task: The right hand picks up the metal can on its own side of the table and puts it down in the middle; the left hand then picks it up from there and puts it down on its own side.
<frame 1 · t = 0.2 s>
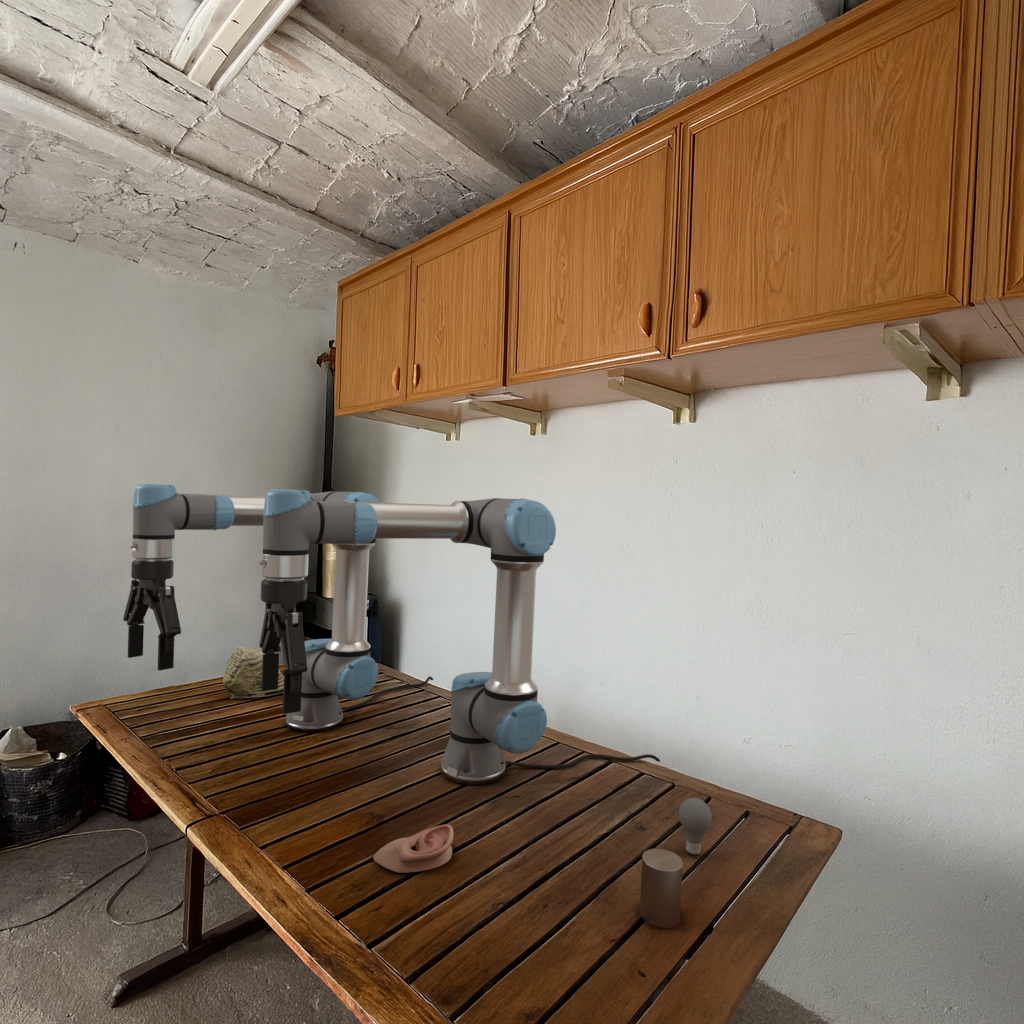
left hand: (149, 662, 130), 28 cm above the table, tool pointing down, fingers open, 13 cm apart
right hand: (280, 700, 110), 28 cm above the table, tool pointing down, fingers open, 13 cm apart
fossil: (254, 694, 198), on the table
can: (659, 915, 100), on the table
light bulb: (693, 853, 118), on the table
anatomical model: (413, 856, 113), on the table
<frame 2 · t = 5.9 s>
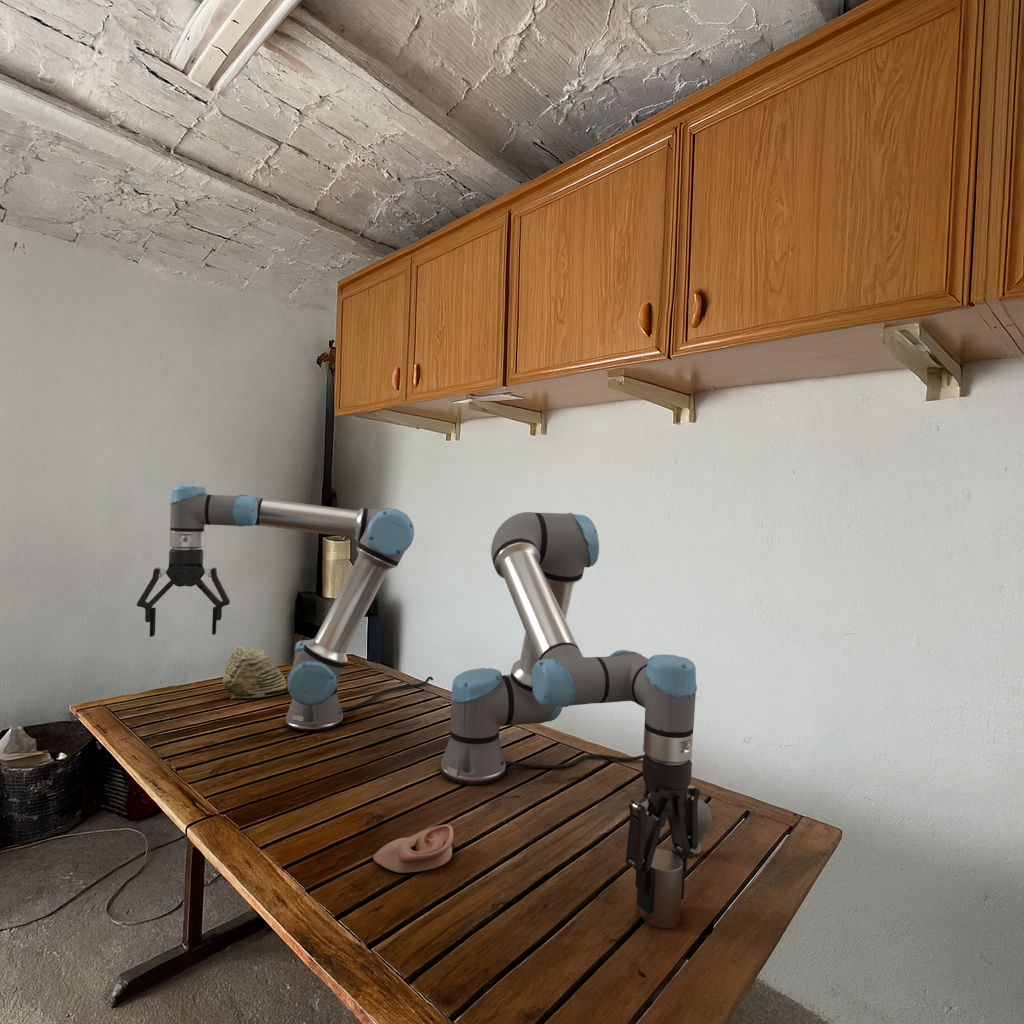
left hand: (183, 634, 156), 28 cm above the table, tool pointing down, fingers open, 13 cm apart
right hand: (660, 901, 100), 2 cm above the table, tool pointing down, fingers closed on can, 6 cm apart
can: (659, 915, 100), on the table, touching right hand
everything else where it was.
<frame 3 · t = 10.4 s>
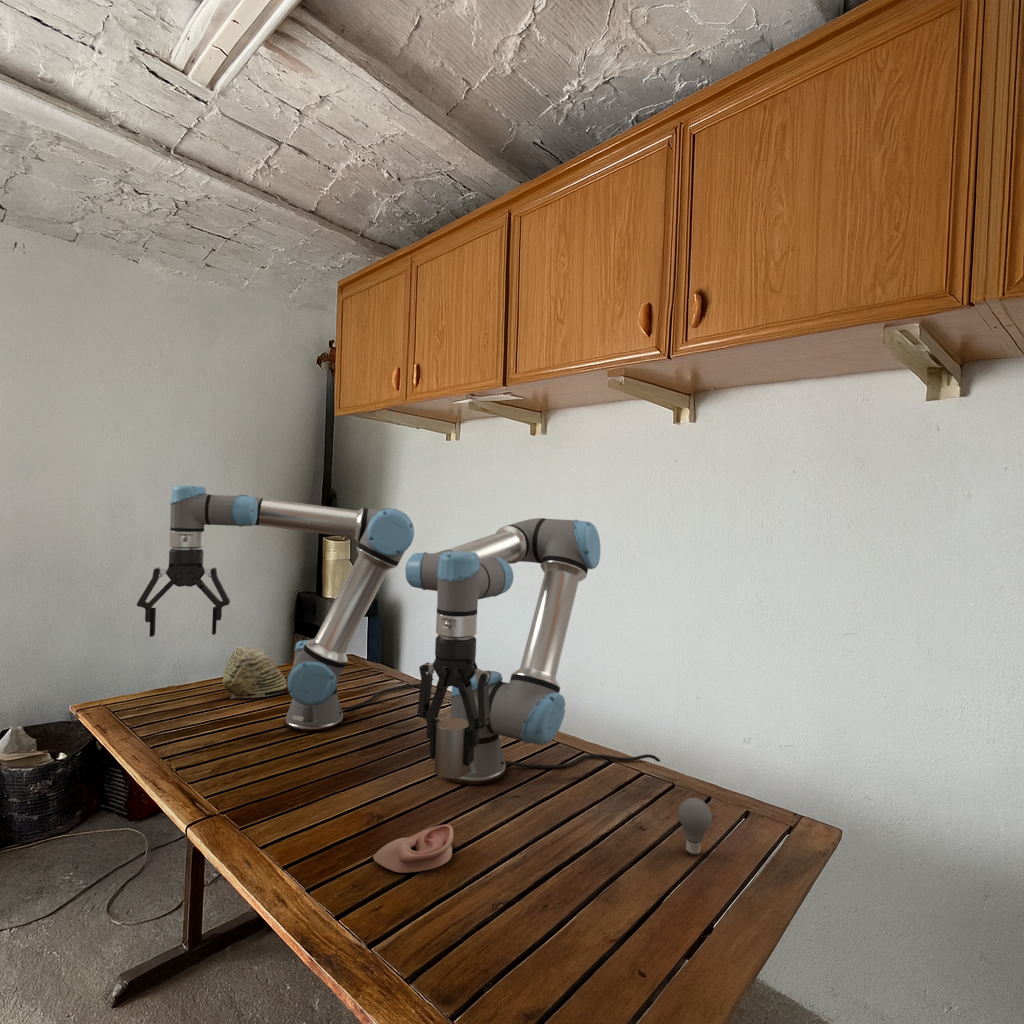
left hand: (183, 634, 156), 28 cm above the table, tool pointing down, fingers open, 13 cm apart
right hand: (451, 759, 117), 16 cm above the table, tool pointing down, fingers closed on can, 6 cm apart
can: (451, 771, 117), point 14 cm above the table, touching right hand
everything else where it was.
when the right hand's fingers open (4 cm above the table, at t = 15.1 s): can drops 2 cm, on the table.
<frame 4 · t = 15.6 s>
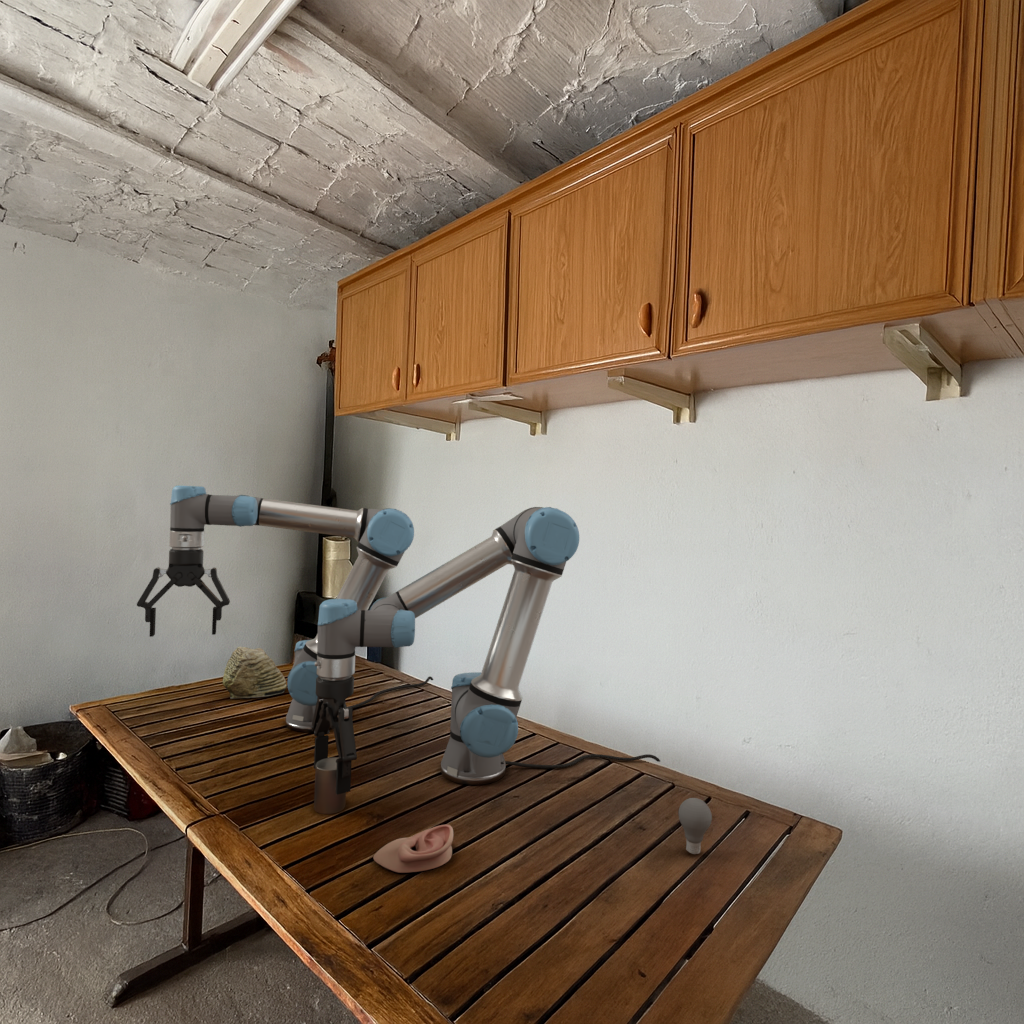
left hand: (183, 634, 156), 28 cm above the table, tool pointing down, fingers open, 13 cm apart
right hand: (331, 779, 130), 6 cm above the table, tool pointing down, fingers open, 13 cm apart
can: (329, 806, 130), on the table
everything else where it was.
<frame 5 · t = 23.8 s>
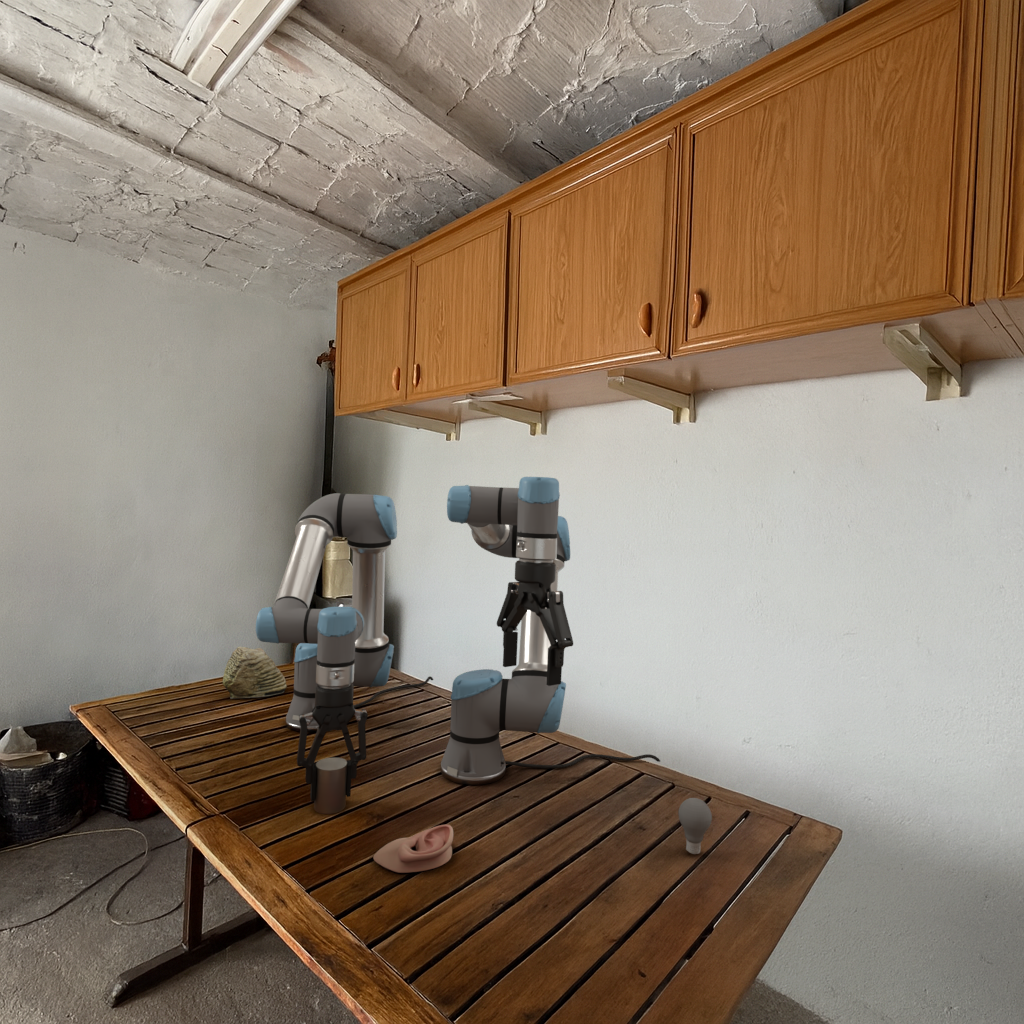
left hand: (330, 795, 130), 2 cm above the table, tool pointing down, fingers closed on can, 6 cm apart
right hand: (530, 674, 117), 32 cm above the table, tool pointing down, fingers open, 13 cm apart
can: (330, 806, 130), on the table, touching left hand
everything else where it was.
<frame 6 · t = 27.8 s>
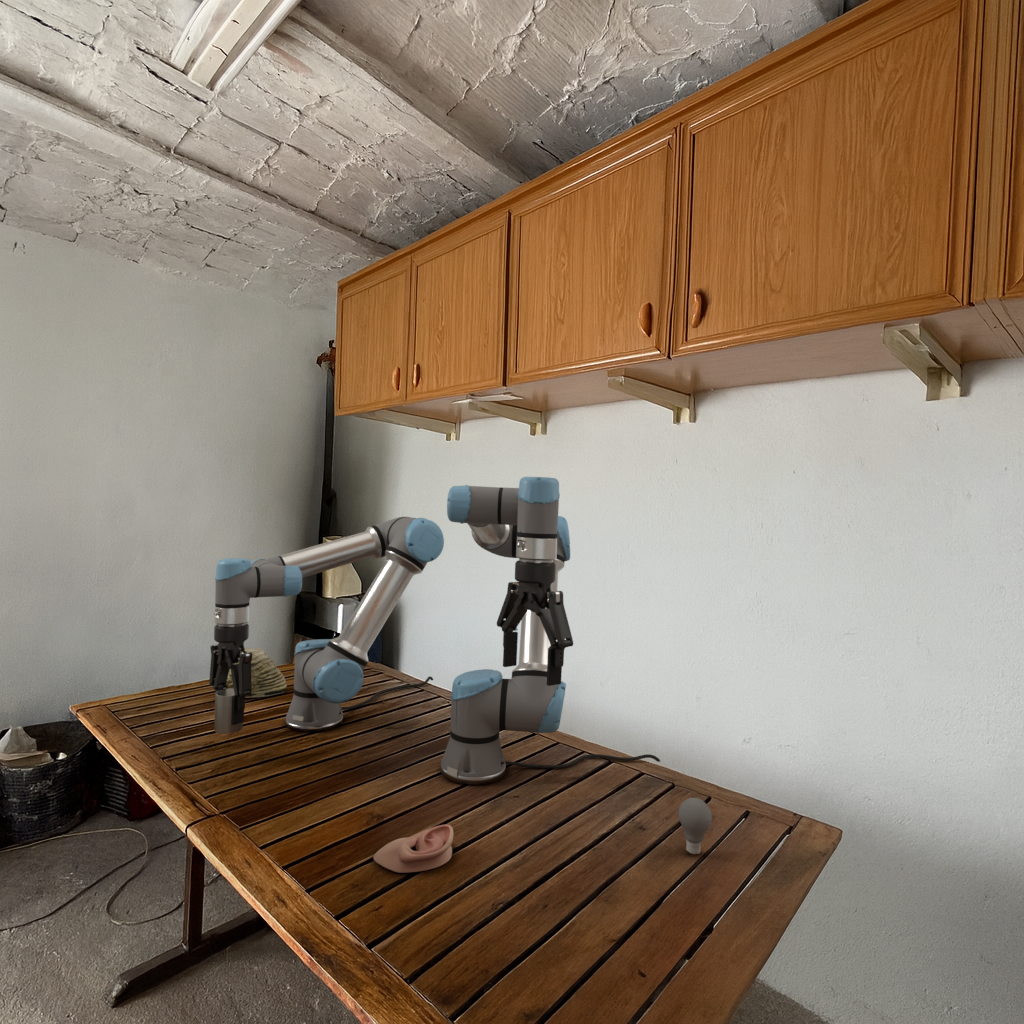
left hand: (229, 719, 151), 9 cm above the table, tool pointing down, fingers closed on can, 6 cm apart
right hand: (530, 674, 117), 32 cm above the table, tool pointing down, fingers open, 13 cm apart
can: (228, 729, 151), point 7 cm above the table, touching left hand
everything else where it was.
when the left hand's fingers open (4 cm above the table, at t = 31.7 s): can drops 2 cm, on the table.
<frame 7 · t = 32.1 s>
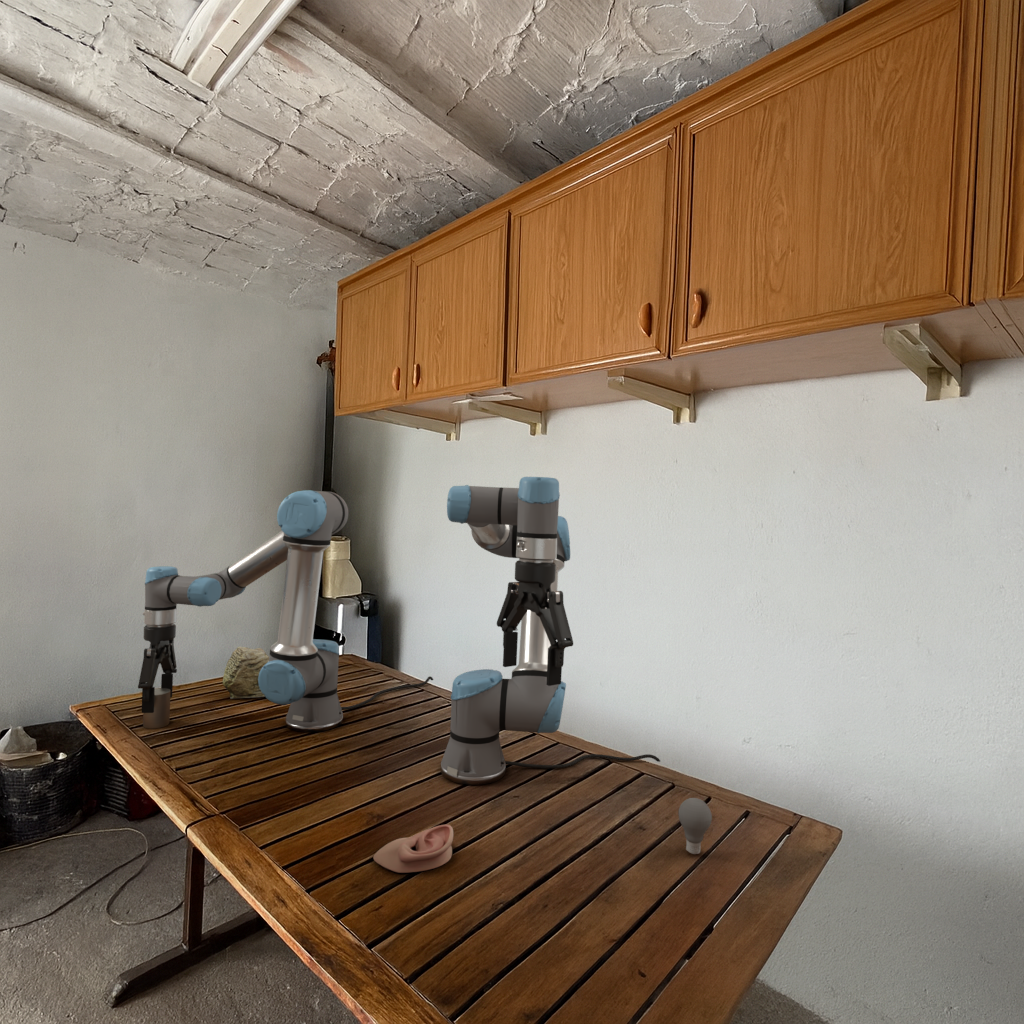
left hand: (157, 704, 170), 5 cm above the table, tool pointing down, fingers open, 12 cm apart
right hand: (530, 674, 117), 32 cm above the table, tool pointing down, fingers open, 13 cm apart
can: (156, 724, 170), on the table
everything else where it was.
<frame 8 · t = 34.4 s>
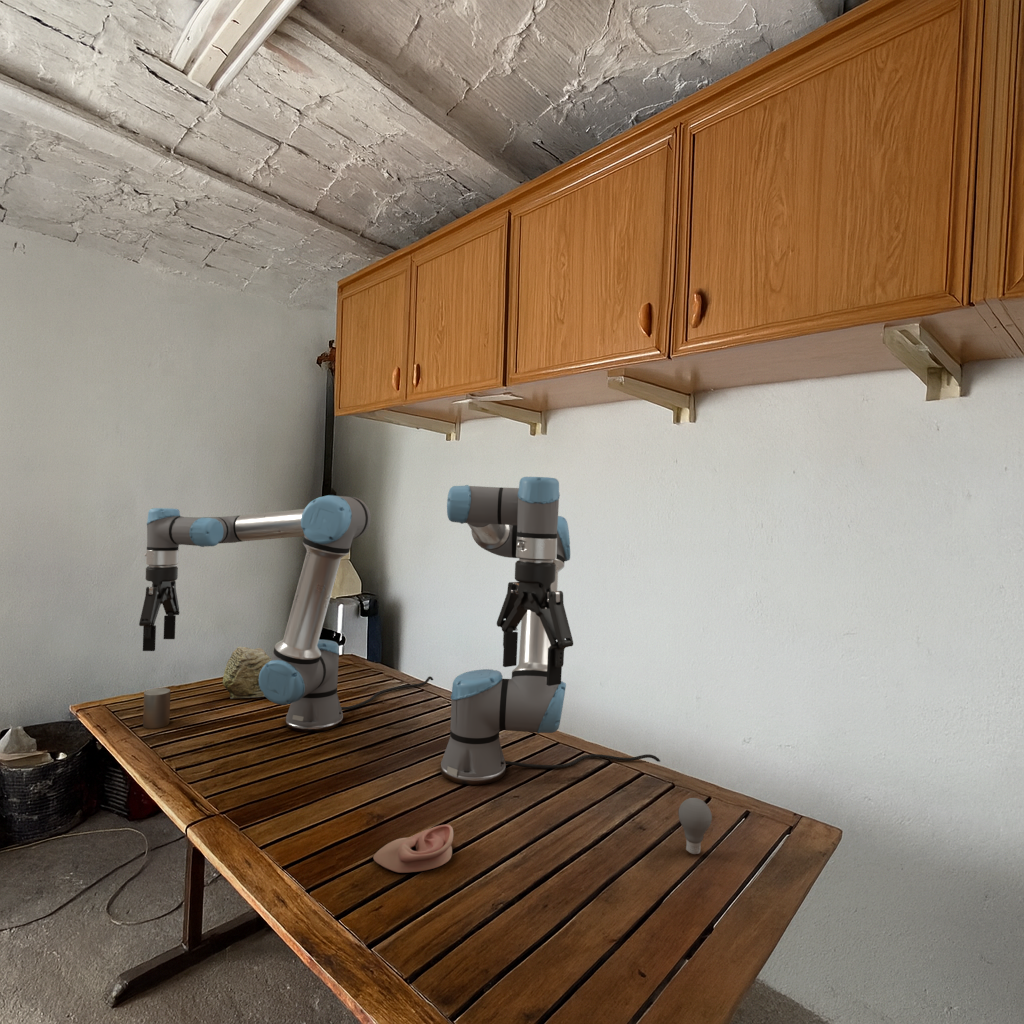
left hand: (159, 644, 170), 21 cm above the table, tool pointing down, fingers open, 13 cm apart
right hand: (530, 674, 117), 32 cm above the table, tool pointing down, fingers open, 13 cm apart
nothing on the table moved.
at the end: can inside the target area (0.1 cm from its centre), on the table; can tilted 0°; the two hands never held the can at the same time; the left hand is holding nothing; the right hand is holding nothing; can at rest at the end (0.0 cm/s) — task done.
